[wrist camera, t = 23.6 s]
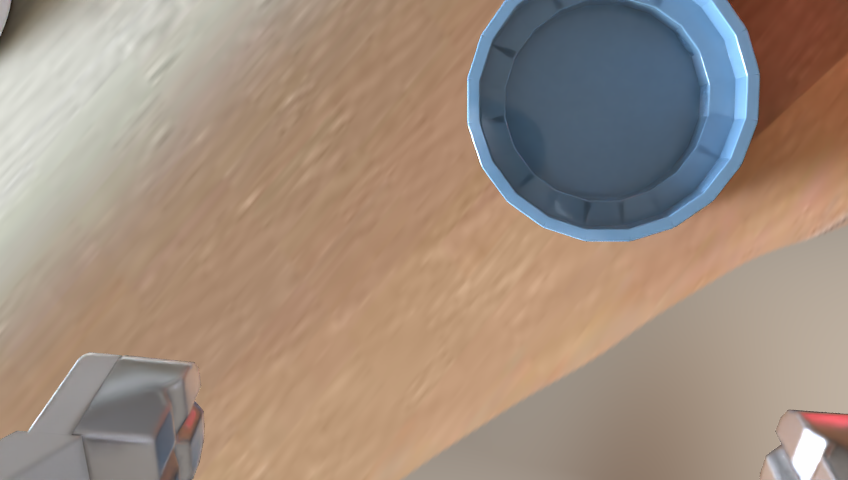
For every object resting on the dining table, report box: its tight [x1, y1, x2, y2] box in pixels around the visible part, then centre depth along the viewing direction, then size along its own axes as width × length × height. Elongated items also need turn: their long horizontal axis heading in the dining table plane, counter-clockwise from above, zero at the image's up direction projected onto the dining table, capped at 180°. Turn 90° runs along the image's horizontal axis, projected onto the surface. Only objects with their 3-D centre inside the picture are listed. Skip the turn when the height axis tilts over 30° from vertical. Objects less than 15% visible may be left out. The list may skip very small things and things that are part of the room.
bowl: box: [467, 0, 760, 241], centre depth 38 cm, size 13×13×4 cm
